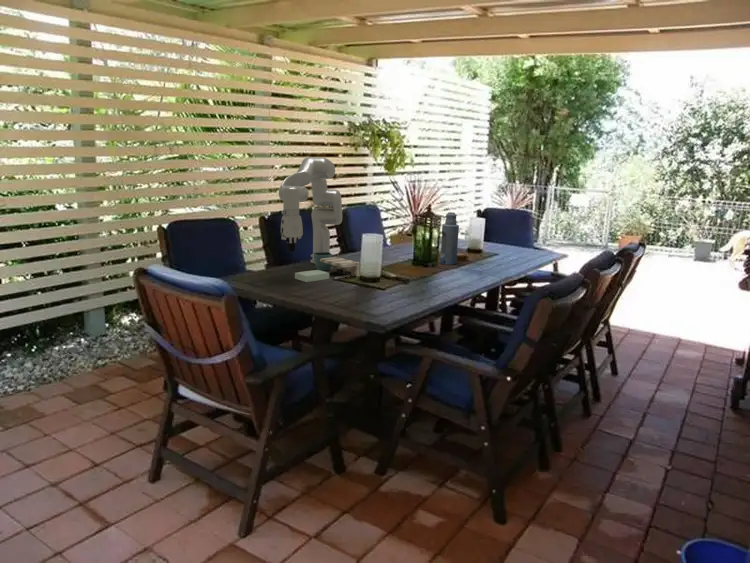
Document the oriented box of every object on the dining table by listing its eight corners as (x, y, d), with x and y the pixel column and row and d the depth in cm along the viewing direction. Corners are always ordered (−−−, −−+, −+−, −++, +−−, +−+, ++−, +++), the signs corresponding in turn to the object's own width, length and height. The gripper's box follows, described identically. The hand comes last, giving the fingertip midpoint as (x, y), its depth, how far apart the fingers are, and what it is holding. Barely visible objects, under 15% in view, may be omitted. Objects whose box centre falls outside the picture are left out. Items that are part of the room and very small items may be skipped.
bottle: (437, 262, 349) (439, 211, 343) (452, 261, 352) (455, 211, 346) (444, 265, 340) (446, 213, 334) (459, 264, 343) (462, 213, 337)
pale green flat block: (294, 278, 295) (294, 272, 295) (317, 275, 304) (317, 269, 303) (306, 282, 288) (306, 276, 287) (329, 278, 297) (329, 272, 296)
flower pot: (316, 271, 313) (316, 255, 311) (313, 268, 322) (313, 252, 320) (332, 271, 316) (332, 254, 314) (328, 268, 324) (329, 252, 322)
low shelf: (315, 273, 309) (315, 259, 307) (336, 270, 318) (336, 256, 316) (338, 280, 294) (338, 265, 293) (359, 276, 303) (359, 262, 301)
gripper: (282, 214, 273) (282, 253, 277) (308, 213, 283) (308, 251, 287) (273, 213, 279) (273, 251, 283) (300, 211, 289) (300, 249, 292)
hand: (291, 251), depth 285 cm, fingers closed
